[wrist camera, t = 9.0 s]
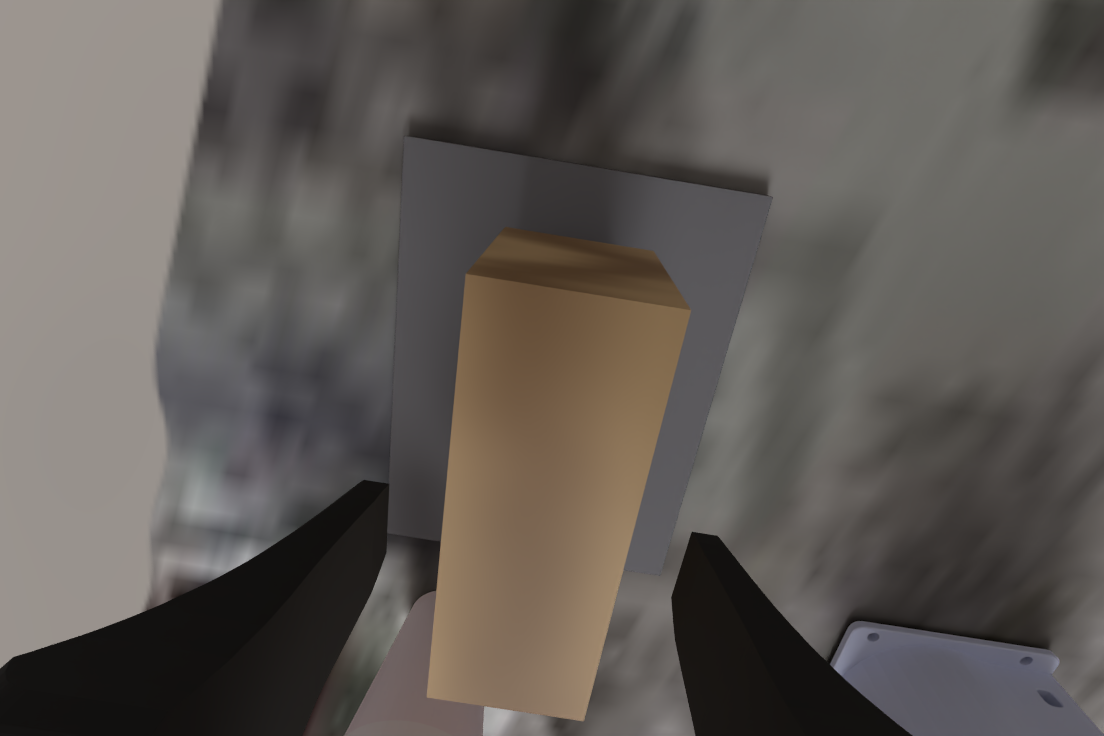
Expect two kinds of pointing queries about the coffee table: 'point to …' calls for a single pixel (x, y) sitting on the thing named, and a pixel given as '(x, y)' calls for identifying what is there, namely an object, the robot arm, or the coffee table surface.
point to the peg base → (572, 211)
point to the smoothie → (412, 689)
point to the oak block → (547, 464)
